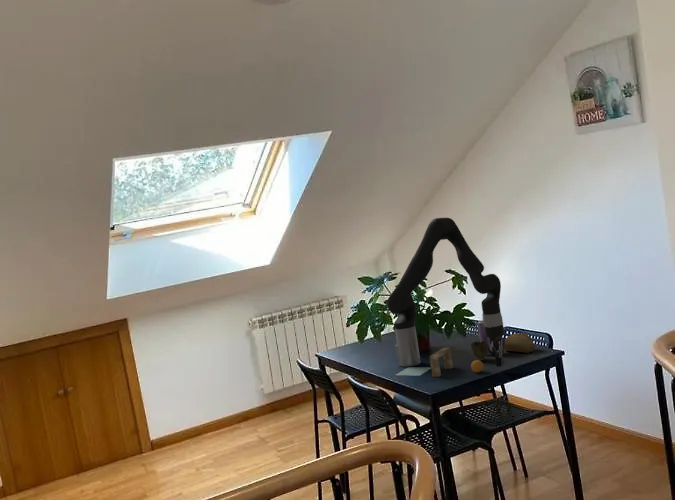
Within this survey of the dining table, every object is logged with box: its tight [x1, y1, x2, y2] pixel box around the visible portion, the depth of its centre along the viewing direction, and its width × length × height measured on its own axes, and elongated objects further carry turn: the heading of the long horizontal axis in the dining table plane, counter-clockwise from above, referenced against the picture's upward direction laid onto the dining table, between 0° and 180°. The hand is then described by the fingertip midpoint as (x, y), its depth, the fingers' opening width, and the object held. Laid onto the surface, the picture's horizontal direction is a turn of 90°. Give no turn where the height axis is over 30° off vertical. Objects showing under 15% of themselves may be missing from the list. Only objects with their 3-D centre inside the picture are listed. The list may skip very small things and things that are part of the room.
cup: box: [469, 340, 488, 362], centre depth 317 cm, size 8×7×8 cm
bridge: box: [428, 347, 454, 378], centre depth 308 cm, size 3×14×9 cm, turn 146°
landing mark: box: [394, 366, 431, 377], centre depth 316 cm, size 12×12×1 cm
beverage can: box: [477, 319, 492, 356], centre depth 327 cm, size 6×6×15 cm
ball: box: [470, 359, 484, 373], centre depth 299 cm, size 5×5×5 cm
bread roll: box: [504, 332, 535, 354], centre depth 323 cm, size 10×15×8 cm, turn 46°
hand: (499, 366), depth 294 cm, fingers closed
